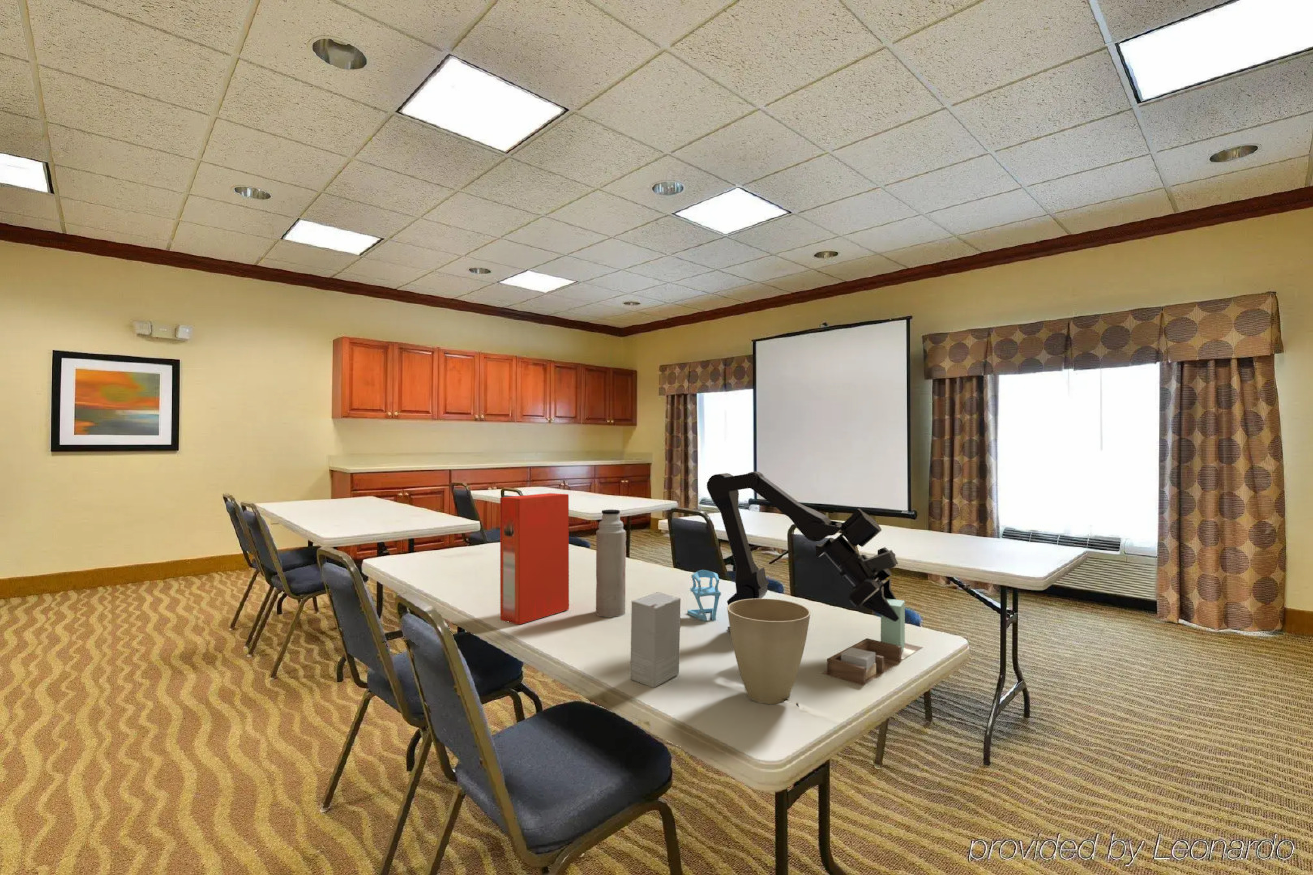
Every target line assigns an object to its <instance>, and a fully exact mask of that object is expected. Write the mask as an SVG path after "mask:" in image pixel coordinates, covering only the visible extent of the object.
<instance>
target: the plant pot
mask: <svg viewBox="0 0 1313 875" xmlns="http://www.w3.org/2000/svg"><path fill="white" fill-rule="evenodd" d="M726 608H727V616H728V624H729V627H730V630H729V631H730V637H731V641H732V647H733V652H734V656H735V660H736V663H737V666H738V672H739V674H740V676H741V681H742V683H743V687H744V690H745V692H746V694H747V696H748V698H749V699H750V700H752V701H754V702H756V703H760V704H765V705H777V704H782V703H785V702H786V701H787V699H788V698H787V697H788V696H790V695H791V692H792V690H793V687H794V684H795V682H796V678H797V675H798V672H799V669H800V666H801V662H802V658H803V655H804V650H805V648H806V647H805V646H806V644H807V643H806V642H807V637H808V631H809V625H810V617H811V611H810V609H809V608H807V607H806V606H804V605H803V604H801V603H798V602H797V603H796V602H793V601H789V600H784V599H777V598H761V599H744V600H739V601H735V602H732V603H731V604H729V605H728V604H727V607H726Z"/></svg>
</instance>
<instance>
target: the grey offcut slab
mask: <svg viewBox="0 0 1313 875" xmlns="http://www.w3.org/2000/svg"><path fill="white" fill-rule="evenodd" d="M849 647H850V648H849ZM849 647H848V648H849V649H847V648H846V649H847V650H846V651H844V652H843V653H842V654H841V661H845V662H848V663H852V664H856V665H859V666H863V667H866V670H867V669H869V668H870V667H871V666H872V665H873V664H874V663H875V652H870V651H866V650H861V649H856V648H852V647H851V646H849Z"/></svg>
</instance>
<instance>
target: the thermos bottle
mask: <svg viewBox="0 0 1313 875" xmlns="http://www.w3.org/2000/svg"><path fill="white" fill-rule="evenodd" d="M620 512H621V510H619V509H602V510H601V514H602V517H601V521H599V522H598V527H597V528H598V529H597V530H596V532H595V534H596V536H595V538H596V539H595V540H596V542H595V544H596V546H595V548H596V549H595V552H596V556H595V557H596V558H595V560H596V561H595V564H596V567H595V572H596V573H595V578H596V588H595V589H596V590H595V614H596V615H597V616H599V617H602V616H607V617H606V618H614V617H613V616H617V617H621V616H624V615H625V614H626V566H627V564H626V551H627V550H626V545H627V542H626V537H627V536H626V534H627V533H626V530H625V529H624V522H623V521H622V520H621V515H620Z"/></svg>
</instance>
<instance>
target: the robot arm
mask: <svg viewBox="0 0 1313 875" xmlns="http://www.w3.org/2000/svg"><path fill="white" fill-rule="evenodd" d="M706 489H707V492H708V494H709V497H710V499H711V501H712V502H713V503H714V505H715V506H716V508H717V509H718V510H719V512H720V514H721V519H722V521H723V525H724V529H725V533H726V536H727V540H728V543H729V547H730V551H731V555H732V557H733V562H734V565H735V579H734V582H735V590H736V591H735V593H734V594H733V595H732V596H731V597H730V598H729V599H728V600H727V601H726V602H727V606H728V605H729V604H731V603H732V602H735V601H739V600H744V599H764V597H765V596H766V595H767V592H768V589H769V588H768V585H769V584H770V582H769V580H768V578H767V577H766V570H765V567H761V568H759V567H758V566H757V565H756V563H755V561H754V558H753V555H752V551H751V548H750V545H749V540H748V536H747V534H746V530H745V526H744V524H743V519H742V516H741V512H740V509H739V499H740V498H739V497H740V490H747V489H751V490H752V491H754V492H755V493H756V494H758V495H759V496H760V497H761V498H762V499H764V500H765V501H767V502H768V503H769V504H771V505H772V506H773V507H775V508H776V509H777V510H779V512H781V513H782V514H783V515H785V516H786V517H788V518H789V519H790V520H791V522H792V523H793V524H794V526H795V527H796V529H797V530H798V532H800V533H801V534H802V535H803V536H804V538H805V539H807V540H808V541H810V542H814V543H815V542H820V541H822V540H825V539H826V538H827V540H826V541H825V542H824V543H822V544H817V545H815V547H814V549H815V555H814V556H815V558H818V559H819V557H821V556H823V555H826V556H827V559H829V560H830V561H831V562H832V564H833V565H834V566H835V567H836V568H837V569H838V570H839V571H840V572H839V575H840V577H842V578H844V577H845V578H846V579H847V580H848V581H849V582H850V583H851V584H852V585H853V587H852V591H851V592H850V593H849V594H848V600H849V602H850V604H852V605H853V606H854V607H855V608H856V607H857V606H858V605H859V606H860V607H862V608H863V607H864V608H866V609H868V610H871V612H872V611H873V612H875V613H876V614H879V615H880V616H881V615H883V616H885V617H887V618H889V619H891V620H893V621H897V620H898V619H899V617H898V616H897V614H896V613H895V611H894V610H893V608H892V607H891V606H890V604H889V603H888V601H887V600H886V599H885V598H887V599H895V600H898V599H897V598H896V596H895V594H894V591H893V590H892V588H891V587H892V577H890V576H892V574H893V573H892V572H891V571H890V569H892V568H895V567H896V566H897V565H898V564H899V563H898V560H897V558H896V553H895V552H893V550H892V549H890V550H889V549H888V548H887V547H886V546H885V547H882V548H879V549H877V554H875V555H874V556H871V557H868V556H867V555H866V554H864V553H862V554H860V553H859V551H857V550H856V549H855V548H854V547H857V546H859V547H861V548H863V547H864V546H866V545H867V544H868V543H869V542H870V541H872V539H874V538H875V537H876V536H877V535H878V534H880V533H881V532H882V530H883V529H882V528H881V526H880V525H879V523H877V521H876V520H875V519H874V518H873V517H871V516H869V514H867V513H866V512H864V511H863V510H862V509H861V508H857V509H856V510H854V512H853V513H852V514H851V515H850V517H848V518H847V519H846V520H845V521H844V522H841V521H836V520H832V519H831V518H829V517H828V516H827V515H825V514H823V513H822V512H820V511H817V509H813V508H811V507H808V506H806V505H803V504H802V503H801V502H799V501H798V500H796V499H795V498H794V497H793V496H791V495H790V494H788V493H787V492H785V490H783V489H781V488H780V487H779V486H778V485H776V484H775V483H774V482H773V481H771V480H769V479H768V478H767V477H766V476H765V475H764V474H763V473H762V472H760V471H751V472H750V471H749V472H748V473H744V474H737V475H733V474H731V473H727V472H724V473H717V474H713V475H711V476H710V477H709V479H708V481H707V482H706ZM841 531H842V532H841ZM839 532H841V533H840V534H839V535H838V536H837V537H836V538H834V537H831V536H835V535H836V534H838V533H839ZM828 537H829V538H828ZM853 546H854V547H853ZM889 577H890V578H889ZM887 578H888V579H887ZM886 579H887V580H886ZM727 630H728V631H730V626H727Z"/></svg>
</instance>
